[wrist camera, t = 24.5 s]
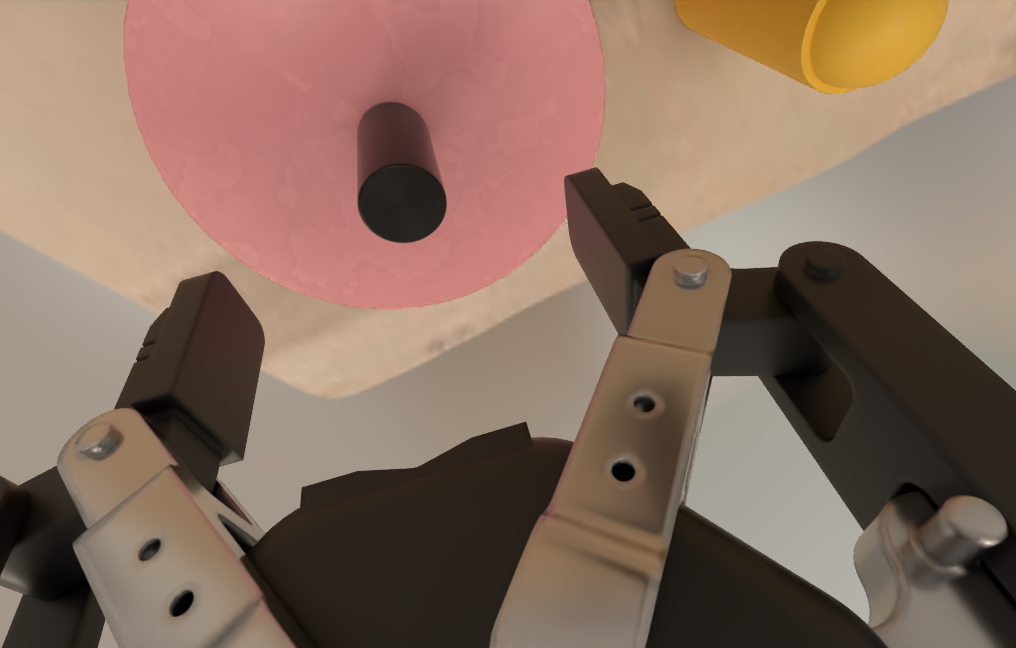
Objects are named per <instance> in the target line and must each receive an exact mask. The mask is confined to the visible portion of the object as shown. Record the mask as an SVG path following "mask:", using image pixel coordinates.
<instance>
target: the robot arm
mask: <svg viewBox="0 0 1016 648" xmlns="http://www.w3.org/2000/svg"><path fill="white" fill-rule="evenodd" d="M564 190H565V199H566V209H567V218H568V228H569V235H570V240H571V244H572V248H573V251H574V253H575V256H576V258H577V260H578V262H579V263H580V265H581V267H582V269H583V271H584V272H585V274H586V276H587V278H588V280H589V281H590V283H591V285H592V287H593V289H594V290H595V292H596V294H597V296H598V298H599V300H600V301H601V303H602V305H603V307H604V309H605V310H606V312H607V314H608V316H609V317H610V320H611V321H612V323H613V325H614V327H615V329H616V330H617V332H618V334H619V335H618V336H617V337H616V339H615V341H614V343H613V346H612V348H611V351H610V353H609V356H608V358H607V361H606V363H605V366H604V369H603V371H602V374H601V376H600V379H599V382H598V384H597V386H596V389H595V392H594V394H593V396H592V399H591V401H590V404H589V406H588V409H587V411H586V414H585V417H584V419H583V422H582V424H581V427H580V429H579V432H578V435H577V437H576V439H575V442H572V441H568V440H563V439H557V438H544V437H536V438H531V436H530V433H529V430H528V427H527V423H526V422H523V423H520V424H517V425H513V426H510V427H506V428H503V429H499V430H496V431H493V432H489V433H486V434H482V435H479V436H476V437H472V438H470V439H468V440H466V441H465V442H463V443H461V444H459V445H457V446H456V447H454V448H452V449H450V450H449V451H446V452H445V453H443V454H441V455H439V456H437V457H436V458H434V459H432V460H430V461H428V462H426V463H425V464H423V465H421V466H419V467H415V468H408V469H389V470H371V471H356V472H353V473H350V474H346V475H343V476H339V477H336V478H333V479H330V480H326V481H322V482H319V483H316V484H312V485H309V486H305V487H302V492H301V504H300V508H298V509H297V510H295V511H293V512H292V513H291V514H289V515H288V516H286V517H285V518H283V519H282V520H281V521H280V522H278V523H277V524H276V525H275V526H273V527H272V528H271V529H270V530H269V531H268V532H267V533H266V534H265V533H264V531H263V530H262V529H261V528H260V527H259V525H258V524H257V523H256V522H255V521H254V519H253V518H252V517H251V516H250V515H249V513H248V512H247V511H246V510H245V509H244V507H243V506H242V505H241V504H240V502H239V501H238V500H237V499H236V498H235V496H234V495H233V494H232V493H231V492H230V490H229V489H228V488H227V487H226V485H225V484H223V483H222V482H221V481H220V480H219V479H218V478H217V474H218V470H219V467H221V466H224V465H227V464H231V463H234V462H238V461H241V460H243V458H244V453H245V448H246V442H247V436H248V431H249V426H250V421H251V415H252V410H253V405H254V399H255V394H256V388H257V383H258V377H259V372H260V367H261V361H262V356H263V351H264V345H265V338H264V332H263V329H262V326H261V324H260V322H259V320H258V319H257V317H256V316H255V315H254V313H253V312H252V311H251V309H250V308H249V307H248V305H247V304H246V303H245V301H244V300H243V299H242V297H241V296H240V295H239V293H238V292H237V290H236V289H235V288H234V286H233V285H232V284H231V282H230V281H229V280H228V279H227V277H226V276H225V275H224V274H222V273H221V272H218V271H215V272H211V273H207V274H204V275H200V276H197V277H193V278H189V279H186V280H183V281H181V282H180V284H179V285H178V288H177V290H176V293H175V295H174V298H173V300H172V302H171V305H170V307H169V308H166V309H165V310H164V311H163V312H162V314H161V315H160V316H159V317H158V318H157V319H156V320H155V322H154V323H153V324H152V325H151V326H150V328H149V331H148V333H147V335H146V337H145V340H144V342H143V348H141V349H140V351H139V353H138V356H137V358H136V360H137V362H136V363H134V365H133V367H132V369H131V372H130V374H129V376H128V379H127V381H126V383H125V386H124V388H123V390H122V392H121V395H120V397H119V399H118V402H117V404H116V406H115V409H114V410H112V411H108V412H106V413H104V414H101V415H100V416H98V417H96V418H94V419H93V420H91V421H89V422H88V423H87V424H85V425H84V426H83V427H81V428H80V429H79V430H78V431H77V432H76V433H75V434H74V435H73V436H72V437H71V438H70V439H69V440H68V442H67V443H66V444H65V445H64V447H63V449H62V451H61V452H60V454H59V457H58V461H57V466H55V467H53V468H52V469H50V470H48V471H46V472H44V473H42V474H40V475H38V476H36V477H35V478H32V479H31V480H29V481H27V482H25V483H23V484H21V485H19V486H18V485H16V484H14V483H12V482H11V481H9V480H7V479H5V478H3V477H1V476H0V586H3V587H6V588H8V589H11V590H14V591H17V592H19V593H22V594H23V596H22V598H21V601H20V603H19V606H18V609H17V611H16V614H15V616H14V618H13V621H12V624H11V626H10V629H9V631H8V634H7V636H6V639H5V641H4V644H3V646H2V648H98V644H99V641H100V637H101V633H102V630H103V626H104V623H105V619H106V621H107V623H108V625H109V627H110V630H111V632H112V634H113V636H114V638H115V640H116V643H117V645H118V647H119V648H1016V391H1015V390H1014V389H1013V388H1012V387H1011V386H1010V385H1008V384H1007V383H1006V382H1005V381H1004V380H1003V379H1002V378H1001V377H999V376H998V375H997V374H996V373H995V372H994V371H993V370H991V369H990V368H989V367H988V366H987V365H986V364H985V363H984V362H982V361H981V360H980V359H979V358H978V357H977V356H976V355H974V354H973V353H972V352H971V351H970V350H969V349H968V348H966V347H965V346H964V345H963V344H962V343H961V342H960V341H958V340H957V339H956V338H955V337H954V336H953V335H952V334H950V333H949V332H948V331H947V330H946V329H945V328H944V327H943V326H941V325H940V324H939V323H938V322H937V321H936V320H935V319H934V318H932V317H931V316H930V315H929V314H928V313H927V312H926V311H924V310H923V309H922V308H921V307H920V306H919V305H918V304H916V303H915V302H914V301H913V300H912V299H911V298H910V297H908V296H907V295H906V294H905V293H904V292H903V291H902V290H901V289H899V288H898V287H897V286H896V285H895V284H894V283H892V282H891V281H890V280H889V279H888V278H887V277H886V276H884V274H882V273H881V272H880V271H879V270H878V269H877V268H876V267H874V266H873V265H872V264H871V263H870V262H869V261H868V260H866V259H865V258H864V257H863V256H862V255H860V254H859V253H858V252H856V251H854V250H853V249H850V248H848V247H846V246H843V245H839V244H836V243H831V242H822V241H812V242H804V243H799V244H796V245H794V246H792V247H789V248H788V249H787V250H785V251H784V252H783V253H782V255H781V257H780V260H779V264H778V267H770V268H751V269H733V268H730V267H729V265H728V264H727V262H726V261H725V260H724V259H722V258H721V257H719V256H718V255H716V254H714V253H711V252H708V251H705V250H699V249H691V248H690V247H689V246H688V245H687V244H686V242H684V240H683V239H682V238H681V237H680V235H679V234H678V233H677V232H676V231H675V230H674V228H673V227H672V226H671V225H670V224H669V223H668V221H667V220H666V219H665V218H664V217H663V216H661V214H660V212H659V211H658V210H657V209H656V207H655V206H652V203H651V202H650V200H649V199H648V198H647V197H646V196H645V195H644V193H643V192H642V191H641V190H639V189H637V188H634V187H632V186H630V185H628V184H626V183H624V182H623V183H619V184H615V185H611V184H610V183H609V182H608V180H607V179H606V178H605V176H604V175H603V174H602V173H601V171H600V170H599V169H598V168H597V167H595V168H591V169H588V170H584V171H581V172H577V173H573V174H570V175H566V176H565V178H564ZM713 376H759V378H760V380H761V381H762V382H763V384H764V385H765V387H766V388H767V390H768V391H769V393H770V394H771V396H772V397H773V399H774V400H775V402H776V403H777V404H778V406H779V407H780V409H781V410H782V412H783V413H784V415H785V416H786V418H787V419H788V421H789V422H790V423H791V425H792V426H793V428H794V429H795V431H796V432H797V434H798V435H799V437H800V438H801V440H802V441H803V443H804V444H805V445H806V447H807V448H808V450H809V451H810V453H811V454H812V456H813V457H814V459H815V460H816V462H817V463H818V465H819V466H820V468H821V469H822V470H823V472H824V473H825V475H826V476H827V477H828V479H829V481H830V482H831V484H832V485H833V487H834V488H835V490H836V491H837V492H838V494H839V495H840V497H841V498H842V500H843V501H844V503H845V504H846V506H847V507H848V509H849V510H850V512H851V513H852V514H853V516H854V517H855V519H856V520H857V522H858V523H859V525H860V526H861V528H862V529H863V531H864V532H863V533H862V535H861V536H860V537H859V539H858V540H857V542H856V544H855V548H854V556H853V558H854V565H855V569H856V572H857V574H858V577H859V579H860V581H861V583H862V585H863V587H864V589H865V592H866V595H867V598H868V601H869V609H870V616H869V623H868V625H867V624H866V623H865V622H864V621H863V620H862V619H861V618H860V617H859V616H857V615H856V614H855V613H854V612H853V611H851V610H850V609H849V608H848V607H846V606H845V605H844V604H842V603H841V602H839V601H838V600H836V599H835V598H833V597H832V596H830V595H829V594H827V593H825V592H824V591H822V590H821V589H819V588H817V587H816V586H814V585H812V584H811V583H809V582H808V581H806V580H804V579H803V578H801V577H800V576H798V575H796V574H795V573H793V572H792V571H790V570H788V569H787V568H785V567H783V566H782V565H780V564H779V563H777V562H775V561H774V560H772V559H770V558H769V557H767V556H766V555H764V554H762V553H761V552H759V551H758V550H756V549H754V548H753V547H751V546H750V545H748V544H746V543H745V542H743V541H742V540H740V539H738V538H737V537H735V536H733V535H732V534H730V533H729V532H727V531H725V530H724V529H722V528H721V527H719V526H717V525H716V524H714V523H713V522H711V521H709V520H708V519H706V518H704V517H703V516H701V515H699V514H698V513H696V512H695V511H693V510H691V509H690V508H688V507H687V506H685V504H686V499H687V494H688V490H689V485H690V480H691V475H692V471H693V466H694V461H695V456H696V451H697V446H698V442H699V437H700V432H701V428H702V423H703V419H704V414H705V410H706V405H707V401H708V396H709V392H710V387H711V382H712V378H713Z"/></svg>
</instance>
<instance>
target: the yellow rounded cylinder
mask: <svg viewBox="0 0 1016 648" xmlns="http://www.w3.org/2000/svg"><path fill="white" fill-rule="evenodd" d="M674 2H675V7H676V11H677V13H678V16H679V17H680V19H681V21H682V22H683V23H684V24H685V25H686V26H687V27H688V28H689V29H691V30H693V31H695V32H697V33H699V34H701V35H703V36H705V37H707V38H709V39H711V40H713V41H715V42H718V43H720V44H722V45H724V46H726V47H728V48H730V49H732V50H734V51H736V52H738V53H740V54H742V55H744V56H747V57H749V58H751V59H753V60H755V61H757V62H759V63H761V64H763V65H765V66H767V67H769V68H771V69H773V70H775V71H778V72H780V73H782V74H784V75H786V76H788V77H790V78H792V79H794V80H796V81H798V82H800V83H802V84H804V85H807V86H809V87H811V88H813V89H815V90H817V91H819V92H822V93H826V94H840V93H846V92H849V91H853V90H855V89H857V88H863V87H868V86H872V85H876V84H879V83H881V82H884V81H886V80H889V79H891V78H893V77H894V76H896V75H898V74H900V73H901V72H903V71H904V70H906V69H907V68H908V67H910V66H911V65H912V64H913V63H914V62H916V61H917V60H918V59H919V58H920V57H921V56H922V55H923V54H924V53H925V51H926V50H927V49H928V48H929V47H930V45H931V44H932V43H933V41H934V40H935V38H936V36H937V35H938V33H939V31H940V29H941V27H942V25H943V22H944V19H945V17H946V13H947V9H948V0H674Z"/></svg>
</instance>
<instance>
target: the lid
mask: <svg viewBox="0 0 1016 648" xmlns="http://www.w3.org/2000/svg"><path fill="white" fill-rule="evenodd" d="M124 62H125V69H126V76H127V84H128V91H129V96H130V100H131V103H132V107H133V110H134V114H135V117H136V121H137V124H138V128H139V130H140V133H141V135H142V137H143V140H144V142H145V144H146V147H147V149H148V151H149V154H150V156H151V158H152V160H153V162H154V164H155V166H156V167H157V169H158V171H159V172H160V174H161V176H162V177H163V179H164V181H165V183H166V184H167V186H168V188H169V189H170V191H171V192H172V193H173V195H174V196H175V197H176V198H177V200H178V201H179V202H180V204H181V205H182V206H183V208H184V209H185V210H186V212H187V213H188V214H189V215H190V216H191V217H192V218H193V220H194V221H195V222H196V223H197V224H198V225H199V226H200V227H201V228H202V229H203V230H204V231H205V232H206V233H207V234H208V235H209V236H210V237H211V238H212V239H213V240H214V241H216V242H217V243H218V244H219V245H220V246H222V247H223V248H224V249H225V250H226V251H227V252H229V253H230V254H231V255H232V256H234V257H235V258H237V259H238V260H240V261H241V262H243V263H244V264H245V265H247V266H248V267H250V268H251V269H253V270H254V271H256V272H258V273H260V274H261V275H263V276H265V277H267V278H269V279H271V280H273V281H274V282H276V283H278V284H280V285H283V286H285V287H287V288H290V289H292V290H295V291H297V292H299V293H302V294H304V295H308V296H311V297H314V298H318V299H321V300H324V301H327V302H332V303H337V304H342V305H347V306H353V307H363V308H373V309H402V308H412V307H422V306H427V305H432V304H437V303H442V302H446V301H449V300H452V299H456V298H459V297H462V296H465V295H468V294H470V293H472V292H475V291H477V290H479V289H482V288H484V287H486V286H488V285H490V284H492V283H494V282H495V281H497V280H499V279H501V278H503V277H504V276H506V275H507V274H509V273H510V272H512V271H513V270H515V269H516V268H517V267H519V266H520V265H522V264H523V263H524V262H525V261H527V260H528V259H529V258H530V257H531V256H532V255H533V254H535V253H536V252H537V251H538V250H539V249H540V248H541V247H542V246H543V245H544V244H545V243H546V242H547V241H548V240H549V239H550V237H551V236H552V235H553V234H554V233H555V232H556V231H557V229H558V228H559V227H560V225H561V224H562V223H563V221H564V220H565V219H566V217H567V209H566V199H565V190H564V178H565V176H566V175H570V174H573V173H577V172H581V171H584V170H588V169H591V168H592V166H593V163H594V159H595V156H596V153H597V149H598V146H599V142H600V136H601V131H602V125H603V119H604V106H605V72H604V58H603V53H602V47H601V42H600V37H599V31H598V27H597V24H596V20H595V17H594V14H593V11H592V8H591V5H590V2H589V0H128V4H127V9H126V15H125V21H124Z"/></svg>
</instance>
